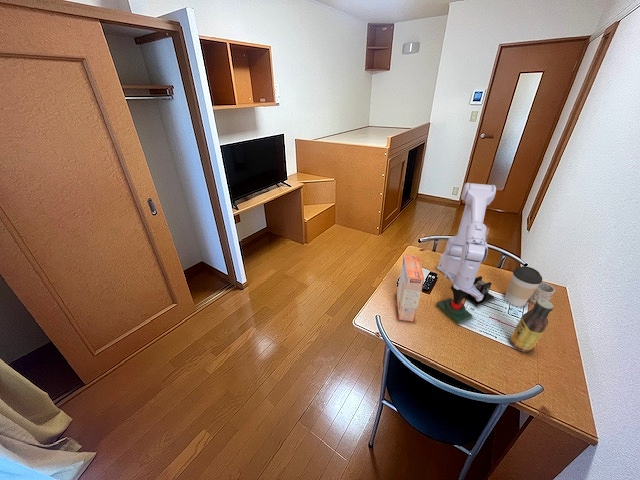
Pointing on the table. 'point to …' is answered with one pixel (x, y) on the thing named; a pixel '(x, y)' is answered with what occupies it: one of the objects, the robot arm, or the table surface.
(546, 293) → the mug
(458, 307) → the button
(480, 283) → the lever
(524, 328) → the sauce bottle
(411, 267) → the cracker box
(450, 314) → the block
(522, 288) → the coffee cup
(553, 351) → the table surface
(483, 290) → the bracket
